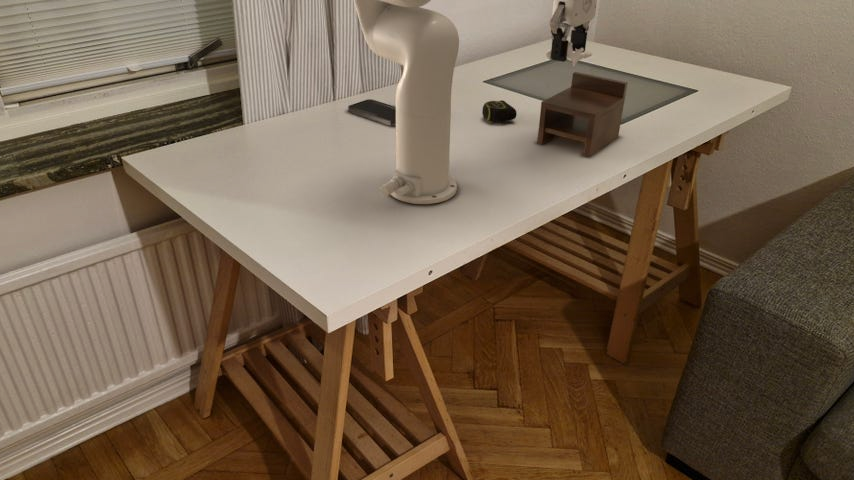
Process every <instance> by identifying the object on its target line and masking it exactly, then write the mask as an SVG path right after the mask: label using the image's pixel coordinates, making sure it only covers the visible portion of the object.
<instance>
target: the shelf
mask: <svg viewBox="0 0 854 480" xmlns="http://www.w3.org/2000/svg"><path fill="white" fill-rule="evenodd" d="M627 89H628V82H626V81H622V80H618V79H612V78H607V77H602V76H598V75H593V74H588V73H583V72H578V71H573V72H572V77H571V85H570V87H567V88H566V89H563V90H562V91H560V92H558V93H556V94H554V95H552V96H550V97H549V98H546V99H544V100H542V101H541V104H540V112H539V123H538V131H537V132H538V133H537V141H536V142H537V144H539V145H543V144H545V143H547V142H549V141H550V140H552V139H554V138H556V137H557V136H559V137H562V138H567V139H571V140H573V141H574V140H575V141H578V142H582V143H584V150H583V156H584V157H586V158H590V157H591V156H593V155H594V154H596V153H598V152H599V151H601V150H602V149H603V148H605V147H606V146H608V145H609V144H610V143H612V142H613V141H615V140H616V139H618V138H619V135H620V129H621V123H622V117H623V111H624V106H625V100H626V94H627Z"/></svg>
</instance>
